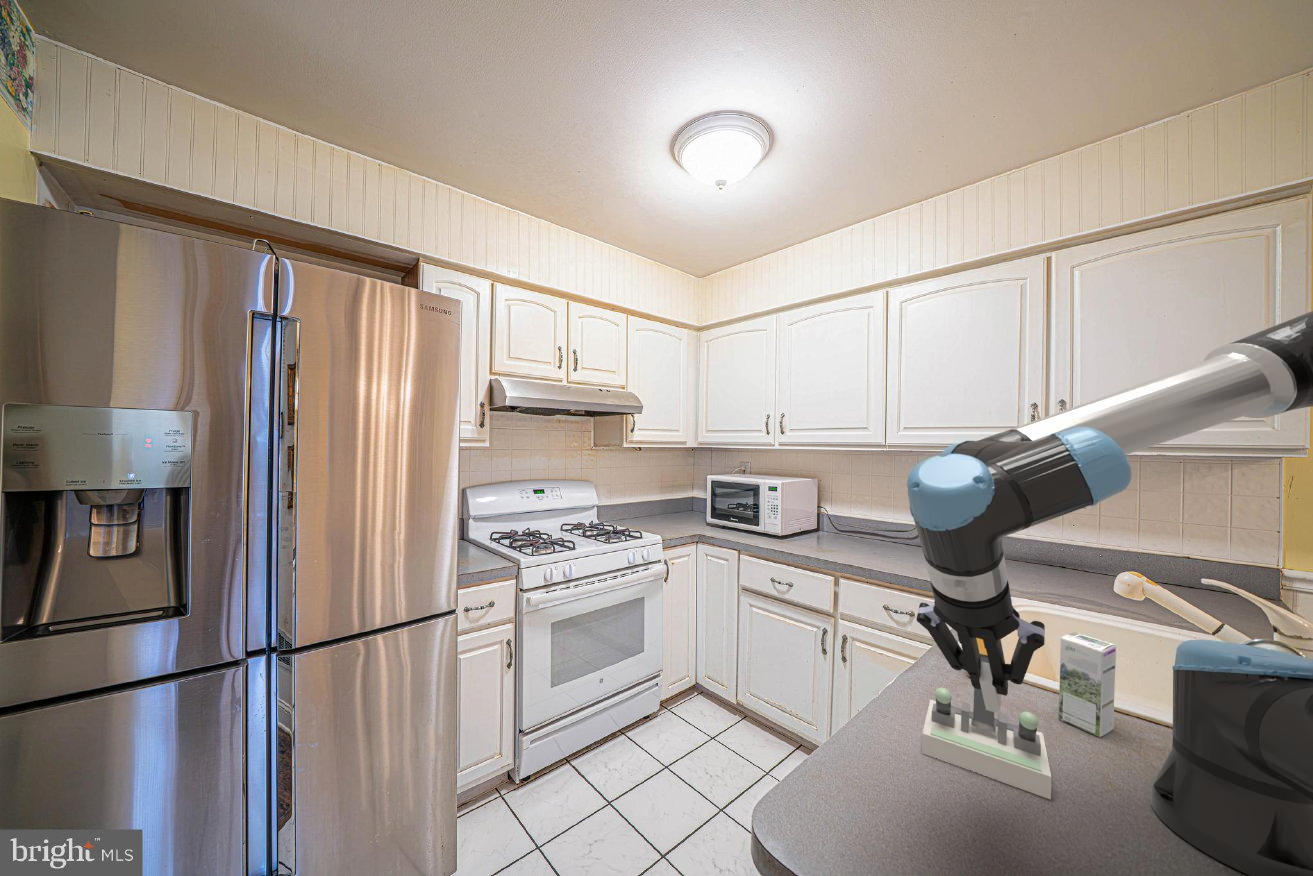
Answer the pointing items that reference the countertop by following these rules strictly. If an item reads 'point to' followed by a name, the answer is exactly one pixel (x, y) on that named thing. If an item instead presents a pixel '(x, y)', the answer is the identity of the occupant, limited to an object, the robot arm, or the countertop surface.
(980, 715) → the breaker lever
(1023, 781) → the lever control panel
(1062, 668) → the syrup box
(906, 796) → the countertop surface
